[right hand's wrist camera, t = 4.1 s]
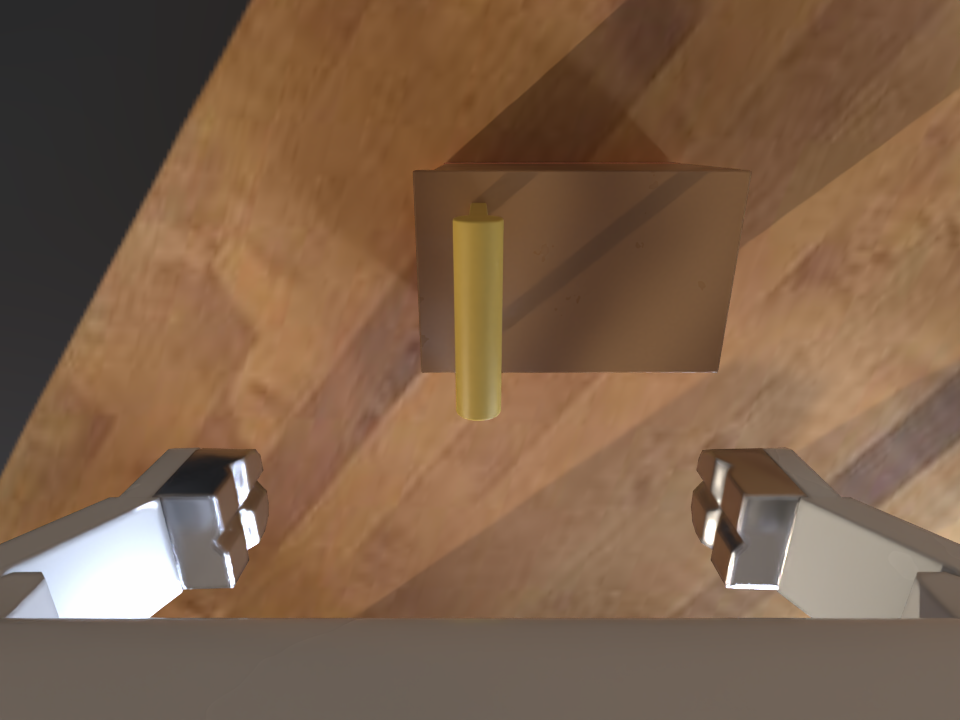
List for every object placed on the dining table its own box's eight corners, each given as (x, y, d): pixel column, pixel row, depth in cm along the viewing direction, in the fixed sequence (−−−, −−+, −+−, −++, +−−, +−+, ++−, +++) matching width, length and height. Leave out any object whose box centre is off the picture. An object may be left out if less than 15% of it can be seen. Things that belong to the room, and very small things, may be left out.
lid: (422, 366, 28) (401, 450, 20) (414, 170, 25) (385, 181, 17) (711, 366, 28) (798, 450, 20) (744, 169, 25) (862, 181, 17)
